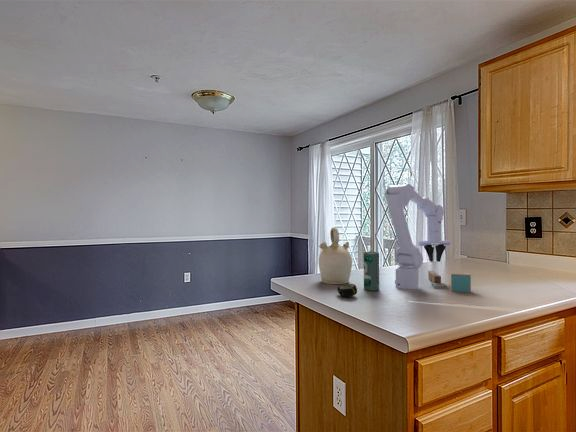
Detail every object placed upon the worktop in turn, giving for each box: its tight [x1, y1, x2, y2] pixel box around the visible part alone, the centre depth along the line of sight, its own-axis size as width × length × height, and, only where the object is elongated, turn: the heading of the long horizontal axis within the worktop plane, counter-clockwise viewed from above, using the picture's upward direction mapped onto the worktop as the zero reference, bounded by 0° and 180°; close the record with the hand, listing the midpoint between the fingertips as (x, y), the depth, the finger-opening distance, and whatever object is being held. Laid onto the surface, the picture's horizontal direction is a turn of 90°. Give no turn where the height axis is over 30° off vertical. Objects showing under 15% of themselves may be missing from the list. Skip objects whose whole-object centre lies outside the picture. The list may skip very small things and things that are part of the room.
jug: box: [318, 226, 353, 285], centre depth 157 cm, size 15×16×25 cm
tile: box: [449, 272, 472, 293], centre depth 136 cm, size 7×3×7 cm, turn 72°
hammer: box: [427, 270, 448, 290], centre depth 151 cm, size 19×5×4 cm, turn 168°
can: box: [362, 251, 380, 292], centre depth 142 cm, size 6×6×15 cm
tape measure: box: [337, 283, 358, 298], centre depth 130 cm, size 7×7×4 cm
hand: (434, 261), depth 155 cm, fingers open, 3 cm apart
